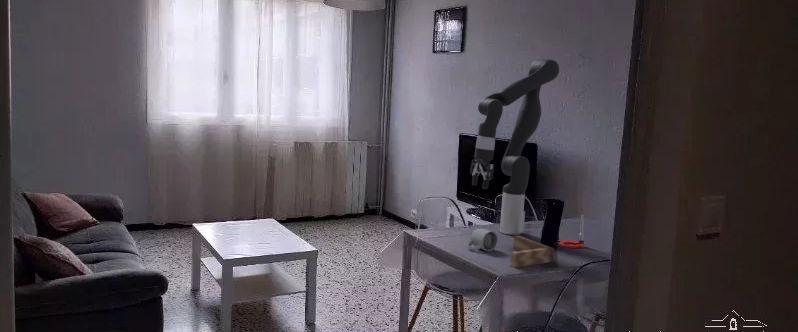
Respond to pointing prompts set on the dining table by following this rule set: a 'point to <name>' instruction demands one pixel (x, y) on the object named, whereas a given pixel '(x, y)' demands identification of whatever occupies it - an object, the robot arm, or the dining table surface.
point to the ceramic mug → (483, 240)
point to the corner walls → (530, 252)
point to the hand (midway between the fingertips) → (479, 187)
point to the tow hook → (578, 244)
